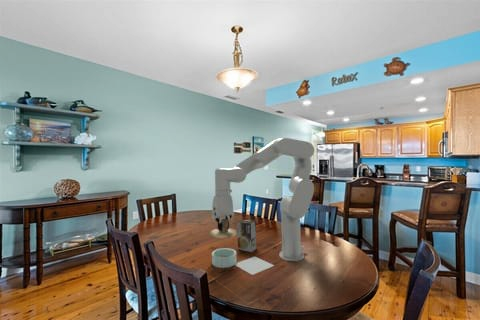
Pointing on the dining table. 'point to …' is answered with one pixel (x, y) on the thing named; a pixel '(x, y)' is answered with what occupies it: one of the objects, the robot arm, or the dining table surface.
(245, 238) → the coffee box
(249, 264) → the mat
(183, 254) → the dining table surface
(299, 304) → the dining table surface
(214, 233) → the lid
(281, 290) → the dining table surface
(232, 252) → the bowl
